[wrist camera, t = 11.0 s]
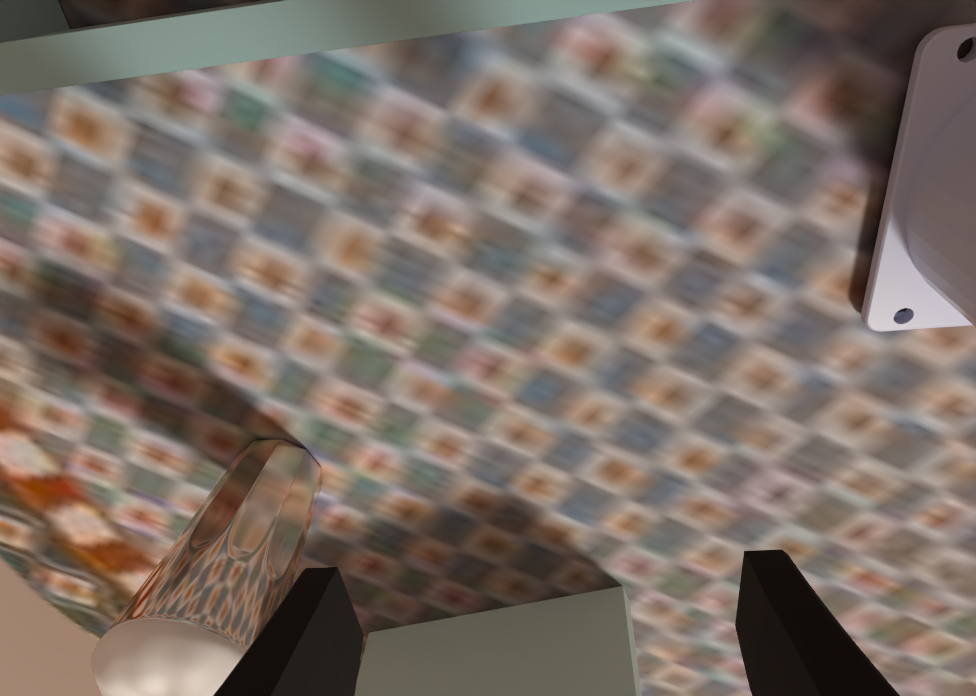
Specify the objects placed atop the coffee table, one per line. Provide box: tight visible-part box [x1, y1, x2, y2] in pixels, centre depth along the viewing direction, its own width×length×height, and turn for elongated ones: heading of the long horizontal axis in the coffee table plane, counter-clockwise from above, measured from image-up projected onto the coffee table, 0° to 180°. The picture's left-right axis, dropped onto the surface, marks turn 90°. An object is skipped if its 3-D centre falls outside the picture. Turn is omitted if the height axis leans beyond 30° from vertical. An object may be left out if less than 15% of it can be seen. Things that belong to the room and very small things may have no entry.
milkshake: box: [91, 439, 322, 696], centre depth 20 cm, size 4×5×10 cm
